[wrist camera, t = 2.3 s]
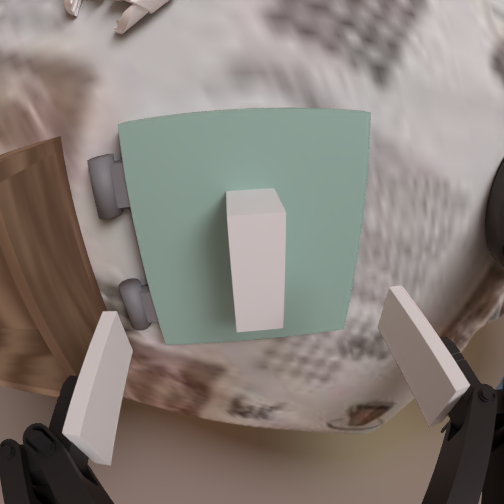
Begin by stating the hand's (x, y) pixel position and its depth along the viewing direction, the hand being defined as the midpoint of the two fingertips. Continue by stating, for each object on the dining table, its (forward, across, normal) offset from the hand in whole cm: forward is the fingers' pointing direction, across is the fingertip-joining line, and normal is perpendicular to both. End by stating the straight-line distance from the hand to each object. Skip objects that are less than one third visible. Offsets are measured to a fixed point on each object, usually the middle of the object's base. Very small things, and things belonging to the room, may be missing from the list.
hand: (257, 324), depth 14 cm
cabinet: (+10, +23, 0) cm, 25 cm away
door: (+9, +1, 0) cm, 9 cm away
